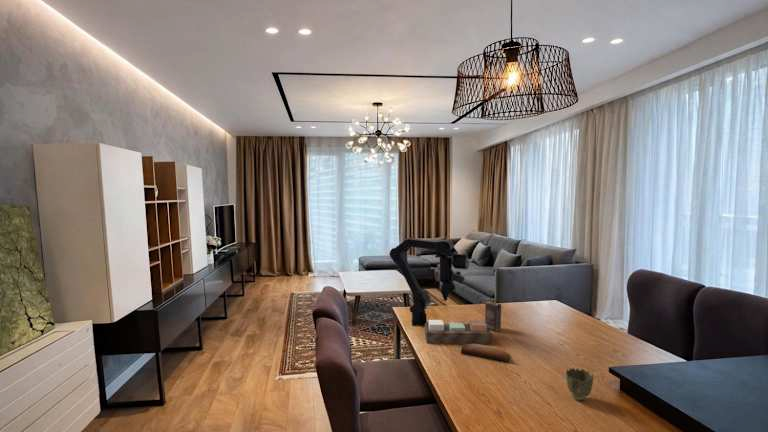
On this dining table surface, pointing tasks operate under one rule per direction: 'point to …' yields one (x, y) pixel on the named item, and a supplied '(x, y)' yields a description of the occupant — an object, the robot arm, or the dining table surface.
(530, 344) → the dining table surface
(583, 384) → the cup
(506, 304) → the dining table surface
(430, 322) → the key cream
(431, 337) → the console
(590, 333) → the dining table surface
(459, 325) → the key sage
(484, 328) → the key terracotta
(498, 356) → the sunglasses case
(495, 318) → the box
